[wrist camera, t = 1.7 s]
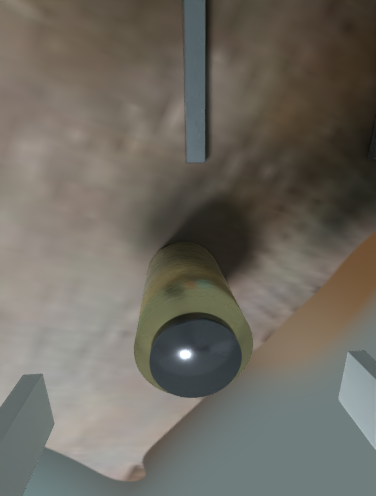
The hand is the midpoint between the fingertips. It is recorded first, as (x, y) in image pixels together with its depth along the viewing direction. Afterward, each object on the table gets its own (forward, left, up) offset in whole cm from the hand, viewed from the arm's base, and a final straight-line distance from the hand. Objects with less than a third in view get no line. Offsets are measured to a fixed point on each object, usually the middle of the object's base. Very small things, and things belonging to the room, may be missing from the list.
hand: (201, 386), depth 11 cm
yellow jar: (0, 0, -11) cm, 11 cm away
